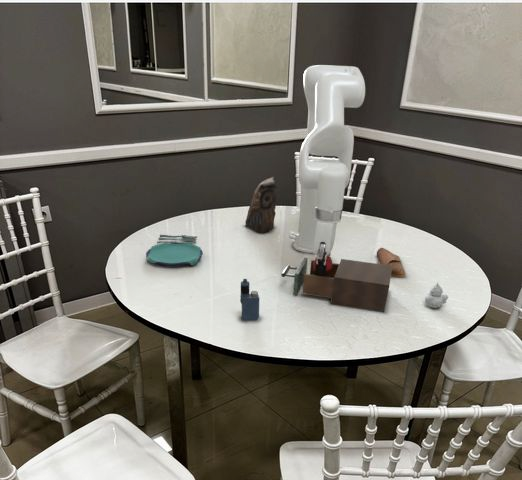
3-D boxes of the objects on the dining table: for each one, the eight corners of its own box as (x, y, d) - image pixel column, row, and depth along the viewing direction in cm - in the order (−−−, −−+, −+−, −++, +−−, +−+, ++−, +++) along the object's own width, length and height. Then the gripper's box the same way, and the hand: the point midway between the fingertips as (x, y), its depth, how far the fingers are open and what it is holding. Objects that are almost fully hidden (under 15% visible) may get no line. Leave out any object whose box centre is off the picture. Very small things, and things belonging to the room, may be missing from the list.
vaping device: (240, 316, 133) (240, 277, 126) (258, 316, 133) (259, 277, 127) (240, 321, 131) (240, 281, 124) (259, 320, 131) (260, 281, 125)
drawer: (277, 292, 145) (278, 271, 141) (288, 274, 156) (289, 255, 152) (340, 301, 140) (343, 280, 137) (346, 283, 151) (349, 263, 148)
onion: (315, 270, 148) (318, 246, 144) (333, 274, 147) (336, 250, 142) (309, 277, 144) (312, 252, 140) (327, 281, 142) (330, 256, 138)
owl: (272, 223, 203) (274, 175, 192) (283, 232, 193) (286, 182, 182) (244, 225, 199) (245, 176, 188) (254, 235, 189) (255, 184, 178)
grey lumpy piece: (421, 301, 144) (427, 277, 140) (442, 302, 144) (449, 278, 140) (426, 310, 140) (432, 285, 135) (448, 311, 140) (455, 286, 135)
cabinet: (330, 304, 141) (334, 277, 136) (338, 284, 153) (341, 258, 148) (384, 312, 138) (389, 285, 133) (387, 291, 150) (392, 265, 145)
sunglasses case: (407, 276, 159) (400, 259, 156) (387, 284, 161) (380, 268, 158) (398, 256, 174) (392, 240, 171) (380, 264, 176) (374, 249, 173)
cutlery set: (141, 268, 159) (141, 262, 157) (155, 237, 184) (154, 232, 182) (201, 269, 160) (200, 263, 158) (206, 238, 185) (206, 233, 183)
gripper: (320, 204, 143) (315, 260, 152) (309, 221, 129) (304, 281, 138) (345, 207, 141) (338, 263, 151) (336, 224, 127) (329, 285, 137)
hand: (322, 271), depth 145 cm, fingers closed on onion, 6 cm apart
